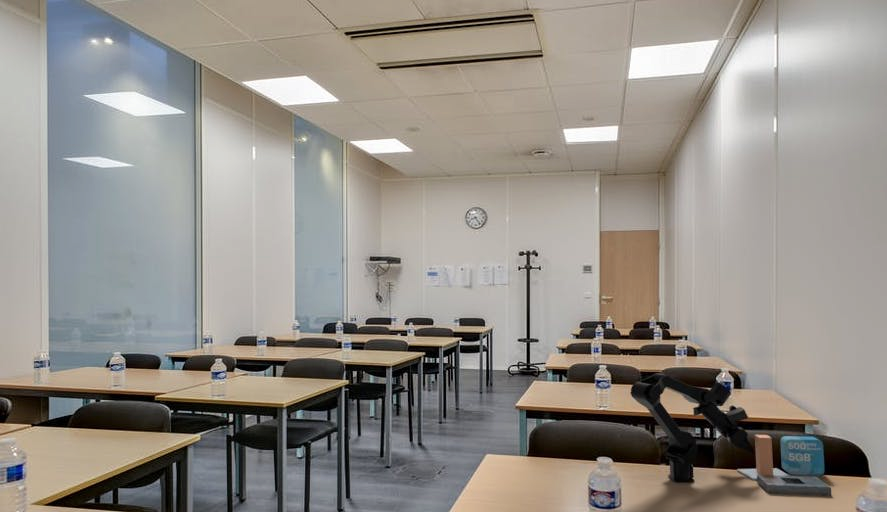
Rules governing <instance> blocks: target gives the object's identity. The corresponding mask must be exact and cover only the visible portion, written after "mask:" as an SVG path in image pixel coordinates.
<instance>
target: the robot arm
mask: <svg viewBox="0 0 887 512" xmlns="http://www.w3.org/2000/svg"><path fill="white" fill-rule="evenodd" d="M665 389H667V390H670V391H672V392H674V393H675V394H679V395H681V396H682V397H683V399H685V400H686V401H687V402H689V403H693V404H697V406H694V407H693V409H692V410H693V416H694V417H695V416H701V415H702V416H703V417H704V419H705V420H707V421H708V422H709V423H710V425H712V426H713V427H714V428H715V430H716V431H717V432H718V433H719V434H720V435H721V436H722V437H724V438H726V440H727V441H728V442H729V443H730V444H731V445H732V446H733V447H737V448H739V449H741V450H744V451H745V452H749V453H751V454H753V455H754V454H756V450H755V447H753V446H752V444H751V443H750V442H749V440H748V436H749V434H748V432H747V431H746V430H745V429H744V428H743V427H741V426H738V423H739V422H741V421H744V420H747V419H749V416H748V414H747V412H746V410H745V408H744V407H741V406H738V407H736V406H735V405H734V404H733V405H730V406H729V408H728V411H727V412H724V410H722V409H720V407H723V406H724V405H725V403H726V402H727V401H728V399H729V398H730V397H731V395H732V392H731V389H729V388H728V387H727V386H725V385H724V384H722V383H721V382H720V381H719V382H717V381H715V382H714V383H713V385H712V387H710V388H709V389H708V388H705V387H700V386H694V385H690V384H687V383H685V382H683V381H680V380H678V379H675V378H673V377H671V376H669V375H668V374H664V373H658V372H657V373H654V374H652V375H651V376H648V377H646V378H644V379H640V380H639V381H636V382H634V383H633V384H632V386H631V388H630V395H631V397H632V398H633V399H634V400H635V401H636V402H637V404H638V403H639V404H640V405H641V406H643V407H645V408H646V409H647V410H648V412H649V413H650V414H651V416H652V418H654V420H655V421H656V423H657V424H658V425H659V427H660V428H661V429H662V431H663V432H664V434H665V435H666V436H667V441H668V447H667V448H666V450H665V451H664V455H665V458H666V459H667V460H668V459H669V474H667V476H668V477H669V478H670V479H671V480H672V481H674V482H675V483H689V482H690V483H692V482H693V483H694V482H695V479H694V466H693V464H695V463H696V461H697V457H698V452H699V451H698V447H699V446H698V443H697V442H698V440H697V439H695V438H694V436H693V434H692V433H691V432H688V431H685V430H683V429H680V427H679V426H678V424H677V423H676V422H675V420H674V419H673V417H672V416H671V415H670V413H669V412H668V410H666V408H665V407H664V405H663V404H662V402H661V395H662V394H663V393H664V391H665Z"/></svg>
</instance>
